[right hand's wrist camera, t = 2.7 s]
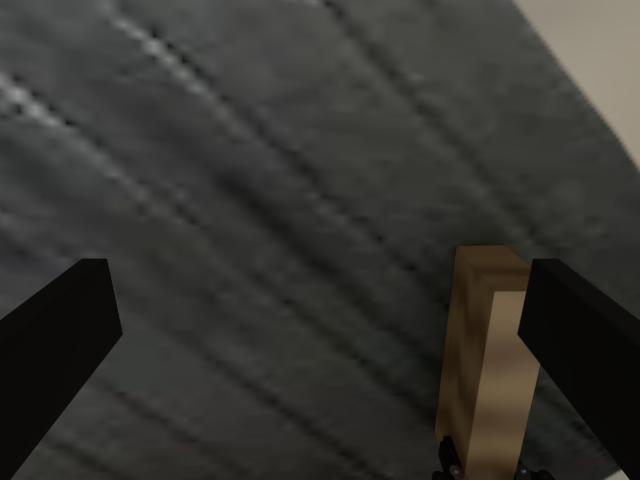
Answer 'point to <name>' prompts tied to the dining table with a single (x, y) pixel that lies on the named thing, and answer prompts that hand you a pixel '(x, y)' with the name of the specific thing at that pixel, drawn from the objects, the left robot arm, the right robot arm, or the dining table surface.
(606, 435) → the right robot arm
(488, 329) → the bar
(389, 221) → the dining table surface
